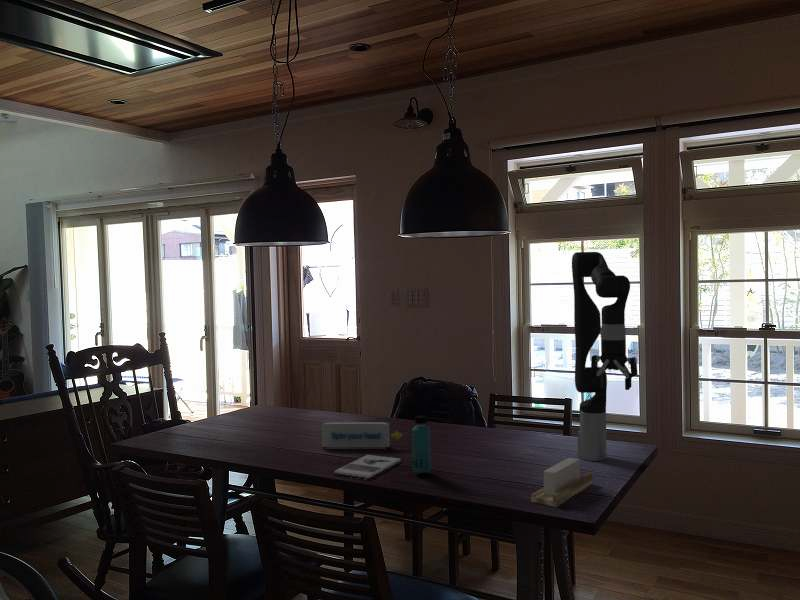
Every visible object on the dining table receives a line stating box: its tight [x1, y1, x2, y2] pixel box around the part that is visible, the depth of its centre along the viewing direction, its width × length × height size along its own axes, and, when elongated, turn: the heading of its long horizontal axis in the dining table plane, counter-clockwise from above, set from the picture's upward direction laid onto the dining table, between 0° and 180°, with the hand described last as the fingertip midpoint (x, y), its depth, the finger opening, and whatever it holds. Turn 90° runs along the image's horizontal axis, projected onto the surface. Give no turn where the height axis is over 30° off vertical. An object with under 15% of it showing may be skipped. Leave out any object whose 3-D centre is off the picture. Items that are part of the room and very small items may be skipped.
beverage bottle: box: [411, 415, 432, 473], centre depth 219 cm, size 6×7×20 cm
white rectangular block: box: [543, 457, 581, 496], centre depth 197 cm, size 4×18×7 cm, turn 141°
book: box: [334, 454, 401, 478], centre depth 228 cm, size 23×14×2 cm, turn 153°
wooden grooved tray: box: [530, 472, 593, 508], centre depth 197 cm, size 8×26×4 cm, turn 141°
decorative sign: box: [321, 421, 403, 448], centre depth 257 cm, size 32×4×10 cm, turn 85°
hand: (614, 388), depth 206 cm, fingers open, 8 cm apart
